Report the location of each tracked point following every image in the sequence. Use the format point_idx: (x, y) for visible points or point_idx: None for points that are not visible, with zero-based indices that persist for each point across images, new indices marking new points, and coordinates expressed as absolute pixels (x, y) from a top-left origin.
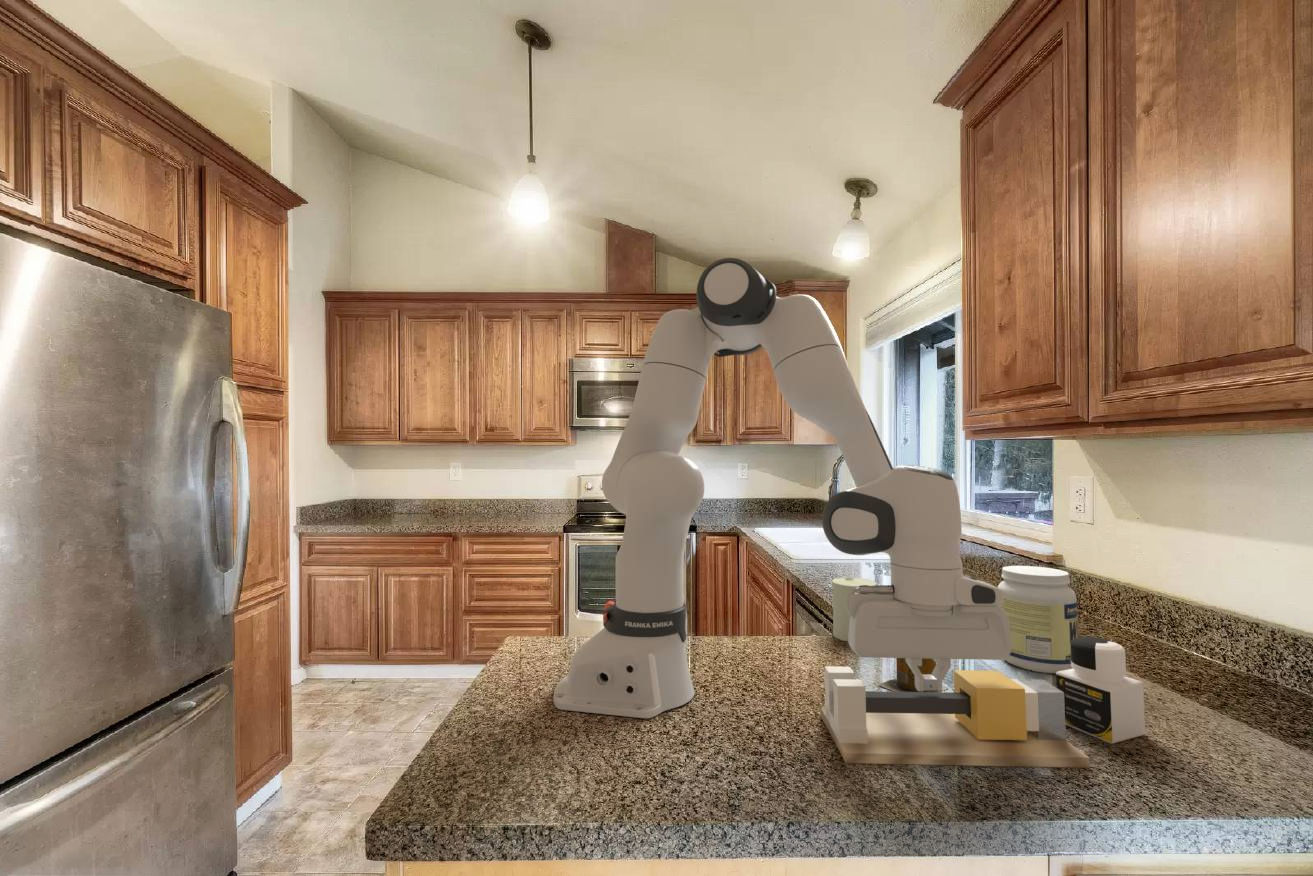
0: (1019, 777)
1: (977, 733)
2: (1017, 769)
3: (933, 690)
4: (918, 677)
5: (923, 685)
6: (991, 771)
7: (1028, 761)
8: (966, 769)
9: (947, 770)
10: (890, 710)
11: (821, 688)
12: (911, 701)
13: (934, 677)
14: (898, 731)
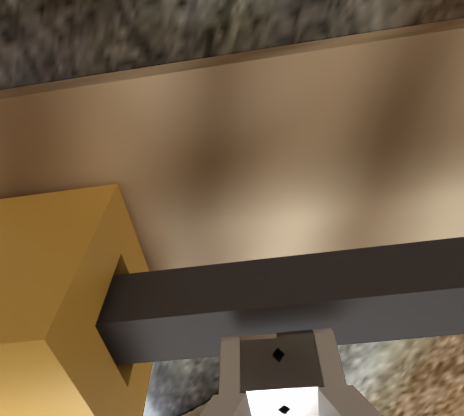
0: (13, 3)
1: (114, 197)
2: (16, 67)
3: (263, 338)
4: (356, 393)
5: (319, 353)
6: (108, 32)
7: None
8: (195, 30)
9: (270, 7)
10: (443, 246)
11: (450, 411)
12: (361, 285)
13: (251, 408)
14: (375, 209)
